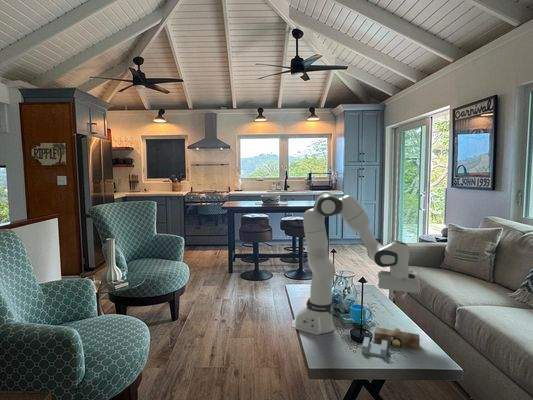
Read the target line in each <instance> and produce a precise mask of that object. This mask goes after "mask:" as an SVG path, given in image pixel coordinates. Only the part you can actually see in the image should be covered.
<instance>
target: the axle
mask: <svg viewBox="0 0 533 400" xmlns="http://www.w3.org/2000/svg"><path fill="white" fill-rule="evenodd" d="M393 330H395V331H401V329H399V328H394V329H393ZM401 342H402V339H399V338H393V337H392V339H391V346H392V347H393V348H394V349H400V347H401Z"/></svg>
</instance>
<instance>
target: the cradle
mask: <svg viewBox="0 0 533 400" xmlns="http://www.w3.org/2000/svg"><path fill="white" fill-rule="evenodd" d="M387 342H388V341H385V340H382V344H380V343H375V342H371V338H370V337H367V336H364V339H363V341H362V345H361V354H363V355H369V356H374V357H375V356H376V357H380V358H383V359H387V355H388V354H387V353H388V345H387Z"/></svg>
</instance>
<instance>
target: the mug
mask: <svg viewBox="0 0 533 400" xmlns="http://www.w3.org/2000/svg"><path fill="white" fill-rule="evenodd" d="M361 305H362V304H358V303H354V304H351V305H350V309H349V310H350V311H349V313H350V315H349V318H350V317H351V319H353V320H354V321H355V322H356V323H358V324H360V319H361ZM366 311H368V312H369V315H368V317H366V313H367V312H366ZM372 315H373V313H372V311H371V309H370V308H368V307H366V306H365V305H363V324H362V325H364V324H366V321H367V320H369V319H370V318H372ZM358 324H357V325H358Z"/></svg>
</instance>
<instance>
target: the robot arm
mask: <svg viewBox="0 0 533 400" xmlns="http://www.w3.org/2000/svg"><path fill="white" fill-rule="evenodd" d="M335 215H340V216H341V217H342V219H343V220H344V222H345V223H346V225H347V226H348V227H349V229H351V230H352V231H353V232H354V233H356V234H357V235H358V236H359V237H360V239H361V240H362V242H363V244H364V245H365V247H366V251H367V256H368V258H369V259H370V261H373V263H375V265H377V266H378V267H381V268H387V267H388V268H389V269H390V271H387V270H381V271H378V273H377V279H378V284H377V285H378V286H377V287H378V288H379V289H381V290H389V293H390V294H391V295H392V296H391V299H396V294H395V293H394V291H396V292H398V291H399V292H404V294H402V295H401V300H403V301H405V300H406V298H405V297H406V296H407V295H408V293H412V294H419V293H420V292H421V284H420V280H419V273H418V272H417V271H414V270H411V269H410V267H409V261H410V251H409V250H410V248H409V245H408V244H407V243H405V242H404V241H401V240H393V241H392V242H390V243H388V244H386V245H384V244H383V243H381V242H379V241H378V240H377V239H376V237H375V236H374V235H373V233H372V231H371V230H370V227H369V226H370V219H369V217H368V214H367V212H366V211H365V209H364V208H363V206H362V205H361V204H360V203H359V202H358V200H357V199H356V198H355V197H354V196H353V195H350V194H346V195H342V196H341V197H340V198H339V197H336V196H335V195H334V194H332V193H330V192H328V191H326V192H325V191H324V192H321V193H320V194H319V195H317V197H316V199H315V201H314V204H313V208H309V209H307V210H305V212H304V213H303V216H302V217H303V218H302V222H303V231H304V236H305V238H304V239H305V243H306V251H307V252H306V253H307V261H308V266H309V268H310V270H311V273H312V276H311V284H310V289H309V290H310V292H309V293H310V295H309V296H310V297H308V299H307V300H306V303H305V304H306V305H305V307H303V308H302V309H300V310H298V312H297V314H296V316H295V318H294V319H293V320H292V322H291V328H292V329H295V330H299V331H301V332H305V333H309V334H312V335H314V336H315V335H316V336H318V335H321V334H328V333H331V332H333V331H334V330H335V325H334V321H333V301H332V295H333V294H332V290H333V289H332V287H333V281H334V277H335V275H336V267H335V264H334V262H333V260H331V259H330V257H329V251H328V249H329V248H328V245H329V239H328V235H327V231H326V230H327V229H326V225H325V218H326V217H333V216H335Z"/></svg>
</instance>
